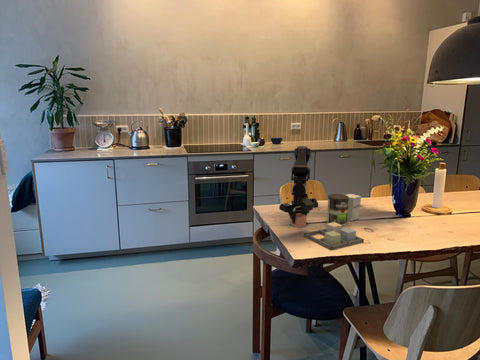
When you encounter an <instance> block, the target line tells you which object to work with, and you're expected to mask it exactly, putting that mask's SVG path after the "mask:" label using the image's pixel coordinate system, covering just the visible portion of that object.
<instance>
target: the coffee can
mask: <svg viewBox="0 0 480 360" xmlns="http://www.w3.org/2000/svg"><path fill="white" fill-rule="evenodd" d="M346 195H347V194H342V193H341V194H339V193H332V194H328V196H327V197H328V198H327V216H326V217H327V218H326V224H328V223H333V222H335V223H338V224H340V225H342V227H343V226H346V225H347V224H348V220H347V214H348V200H349V197H348V196H346Z"/></svg>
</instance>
